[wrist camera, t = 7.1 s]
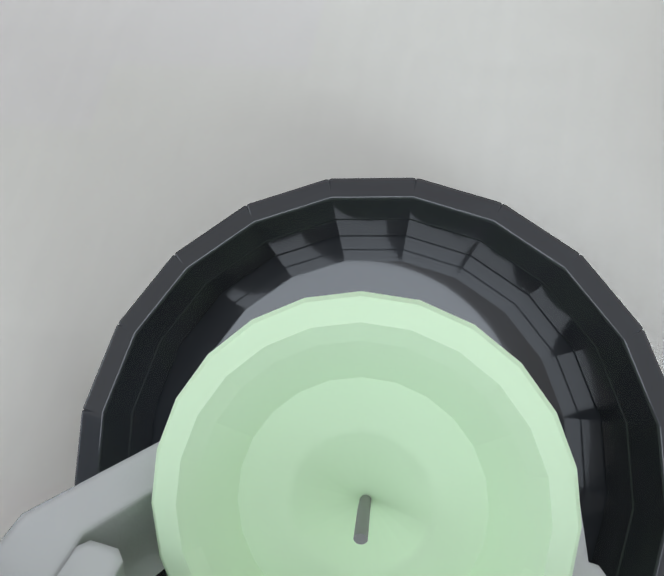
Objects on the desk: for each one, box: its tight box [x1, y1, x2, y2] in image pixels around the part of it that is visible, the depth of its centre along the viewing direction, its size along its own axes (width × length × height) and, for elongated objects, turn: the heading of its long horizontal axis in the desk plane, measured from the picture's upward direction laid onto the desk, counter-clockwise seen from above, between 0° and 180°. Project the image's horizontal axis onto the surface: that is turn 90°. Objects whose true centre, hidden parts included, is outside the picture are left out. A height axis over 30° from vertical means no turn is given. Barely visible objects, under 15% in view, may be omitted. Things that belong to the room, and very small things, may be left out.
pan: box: [75, 178, 664, 576], centre depth 13 cm, size 12×12×3 cm
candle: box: [151, 291, 582, 576], centre depth 10 cm, size 5×5×8 cm
